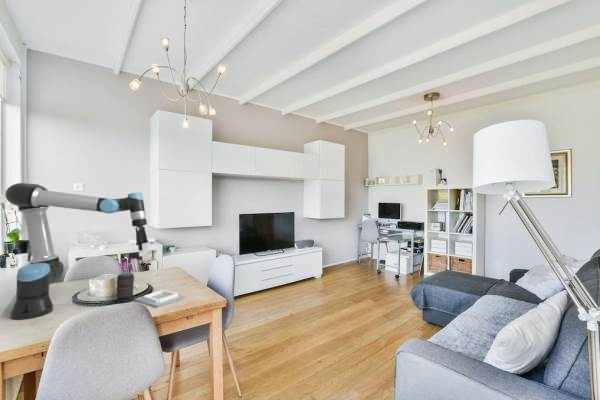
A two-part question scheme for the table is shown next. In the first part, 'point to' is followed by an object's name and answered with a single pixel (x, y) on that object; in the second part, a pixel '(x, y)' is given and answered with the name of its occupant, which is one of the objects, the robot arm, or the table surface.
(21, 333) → the table surface
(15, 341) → the table surface
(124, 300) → the camera lens
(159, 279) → the table surface
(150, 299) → the board
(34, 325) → the table surface
